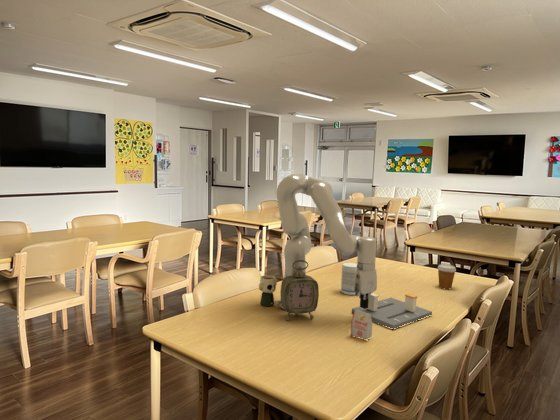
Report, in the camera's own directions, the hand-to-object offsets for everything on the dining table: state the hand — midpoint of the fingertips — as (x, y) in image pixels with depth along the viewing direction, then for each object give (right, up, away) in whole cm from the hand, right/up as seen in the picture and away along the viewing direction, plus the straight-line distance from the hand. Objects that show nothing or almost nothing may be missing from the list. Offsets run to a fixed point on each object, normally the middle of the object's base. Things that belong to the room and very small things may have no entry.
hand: (363, 307), depth 175 cm
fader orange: (+21, -2, +5) cm, 22 cm away
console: (+13, -4, +5) cm, 15 cm away
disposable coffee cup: (+55, -1, +49) cm, 74 cm away
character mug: (-42, -2, +11) cm, 43 cm away
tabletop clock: (-29, -4, -2) cm, 29 cm away
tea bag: (-5, -7, -19) cm, 21 cm away
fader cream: (+4, -2, +4) cm, 6 cm away
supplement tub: (0, -1, +34) cm, 34 cm away
